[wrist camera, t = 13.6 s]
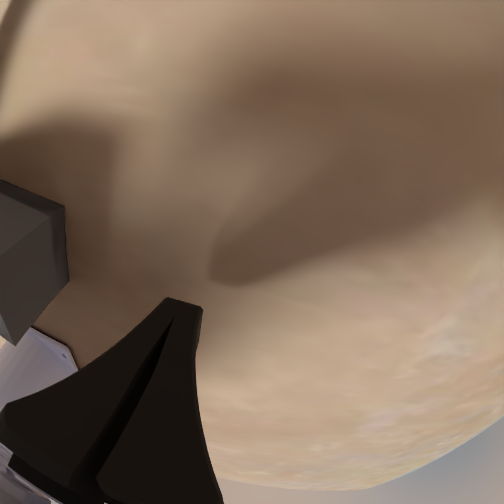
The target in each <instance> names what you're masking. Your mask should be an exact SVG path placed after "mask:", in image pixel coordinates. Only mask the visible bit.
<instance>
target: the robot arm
mask: <svg viewBox="0 0 504 504" xmlns="http://www.w3.org/2000/svg"><path fill="white" fill-rule="evenodd" d="M202 314H203V309H202V308H201V307H200V306H197V305H193V304H190V303H186V302H183V301H180V300H176V299H173V298H169V297H167V298H165V299H164V300H163V301H162V302H161V303H160V304H159V305H158V306H157V307H156V308H155V309H154V310H153V311H152V312H151V313H150V314H149V315H148V316H147V317H146V318H145V319H144V320H143V321H142V322H141V323H140V324H138V325H137V326H136V327H135V328H134V329H133V330H132V331H131V332H130V333H128V334H127V335H126V336H125V337H124V338H123V339H121V340H120V341H119V342H118V343H116V344H115V345H114V346H113V347H111V348H110V349H109V350H108V351H106V352H105V353H104V354H102V355H101V356H100V357H98V358H97V359H95V360H94V361H92V362H91V363H89V364H88V365H86V366H85V367H83V368H82V369H80V370H78V368H77V366H76V364H75V362H74V360H73V357H72V355H71V353H70V350H69V349H68V348H67V347H66V346H65V345H63V344H61V343H59V342H57V341H55V340H53V339H51V338H49V337H48V336H46V335H44V334H42V333H40V332H38V331H37V330H35V329H33V328H31V327H30V328H29V329H28V331H27V332H26V333H25V334H24V336H23V337H22V338H21V340H20V341H19V342H18V344H17V345H16V347H15V346H14V345H12V344H11V343H10V342H8V341H6V342H5V343H4V345H3V346H2V347H1V349H0V504H51V501H50V500H49V498H51V499H52V500H54V501H55V502H57V503H59V504H104V502H105V503H107V504H224V502H223V497H222V494H221V491H220V488H219V486H218V483H217V480H216V477H215V474H214V471H213V468H212V464H211V461H210V457H209V454H208V450H207V446H206V441H205V437H204V433H203V428H202V423H201V417H200V411H199V404H198V397H197V386H196V368H195V356H196V349H197V346H198V342H199V335H200V328H201V321H202Z"/></svg>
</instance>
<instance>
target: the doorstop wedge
mask: <svg viewBox="0 0 504 504" xmlns="http://www.w3.org/2000/svg"><path fill="white" fill-rule="evenodd" d="M68 281H69V276H68V267H67V256H66V242H65V221H64V206H62V205H60V204H57V203H55V202H53V201H50V200H48V199H45V198H43V197H41V196H38V195H36V194H34V193H31V192H29V191H27V190H24V189H22V188H20V187H17V186H15V185H13V184H10V183H8V182H6V181H3V180H1V179H0V335H1V336H2V337H3V338H5V339H6V340H7V341H8V342H10V343H11V344H12V345H14V346H15V347H16V345H17V344H18V342H19V341H20V340H21V338H22V337H23V336H24V334H25V333H26V332H27V331H28V329H29V328H30V327H31V325H32V324H33V323H34V322H35V320H36V319H37V318H38V317H39V315H40V314H41V313H42V312H43V310H44V309H45V308H46V307H47V306H48V304H49V303H50V302H51V301H52V300H53V299H54V297H55V296H56V295H57V294H58V293H59V292H60V290H61V289H62V288H63V287H64V286H65V285H66V284H67V283H68Z"/></svg>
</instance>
